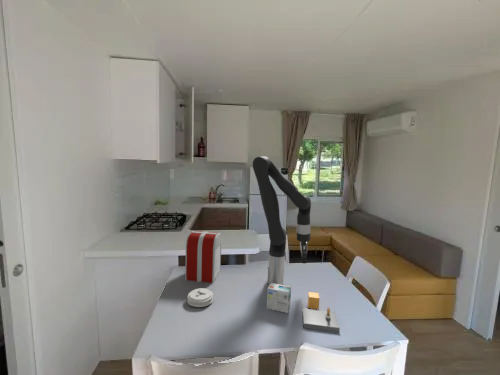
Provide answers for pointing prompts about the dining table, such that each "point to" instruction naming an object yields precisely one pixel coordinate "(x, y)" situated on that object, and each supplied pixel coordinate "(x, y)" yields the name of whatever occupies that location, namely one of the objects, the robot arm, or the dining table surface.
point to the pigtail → (328, 314)
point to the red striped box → (203, 256)
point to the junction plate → (320, 320)
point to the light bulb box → (278, 297)
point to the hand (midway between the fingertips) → (303, 260)
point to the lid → (200, 297)
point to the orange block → (313, 300)
